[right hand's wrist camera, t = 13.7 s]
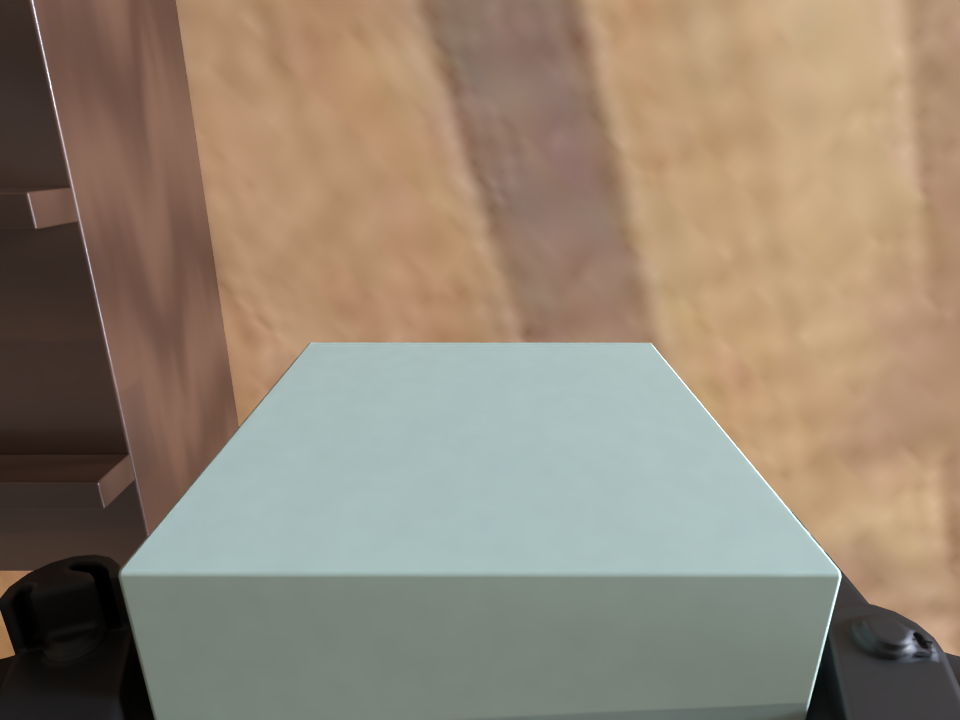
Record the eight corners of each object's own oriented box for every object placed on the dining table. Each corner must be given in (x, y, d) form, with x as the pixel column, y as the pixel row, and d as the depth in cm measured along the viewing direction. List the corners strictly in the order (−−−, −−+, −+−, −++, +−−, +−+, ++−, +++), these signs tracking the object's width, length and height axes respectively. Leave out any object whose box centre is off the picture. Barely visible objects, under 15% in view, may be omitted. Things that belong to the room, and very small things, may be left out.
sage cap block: (308, 341, 12) (114, 572, 6) (651, 341, 12) (845, 574, 6) (331, 566, 14) (204, 931, 8) (628, 567, 14) (754, 932, 8)
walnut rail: (-107, -550, 15) (-782, -1348, 7) (95, -550, 15) (-346, -1345, 7) (119, 456, 24) (-57, 608, 16) (243, 456, 24) (128, 608, 16)
